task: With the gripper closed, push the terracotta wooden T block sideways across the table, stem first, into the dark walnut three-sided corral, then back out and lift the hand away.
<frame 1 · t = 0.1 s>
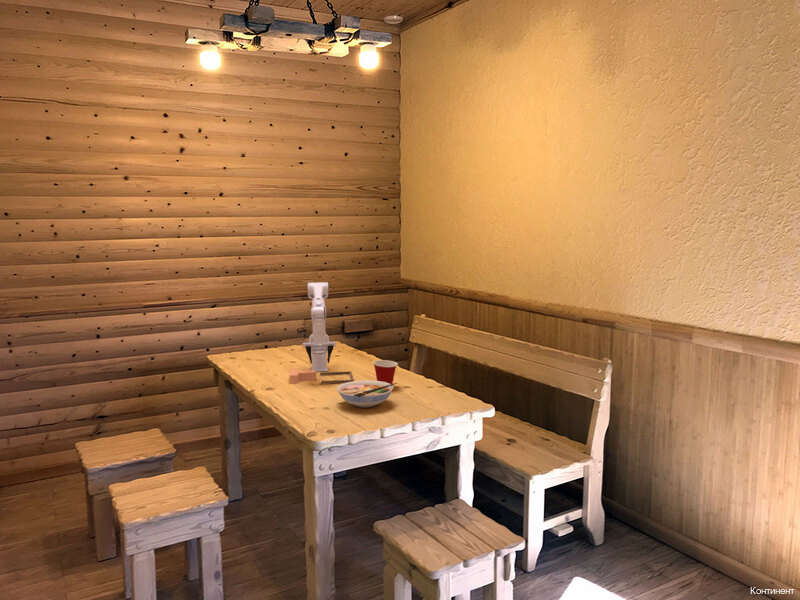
hand: (319, 362, 296), 10 cm above the table, tool pointing down, fingers open, 7 cm apart
ramen bowl: (365, 405, 265), on the table
t block: (303, 380, 304), on the table
plastic cup: (385, 389, 289), on the table
corral: (335, 378, 307), on the table
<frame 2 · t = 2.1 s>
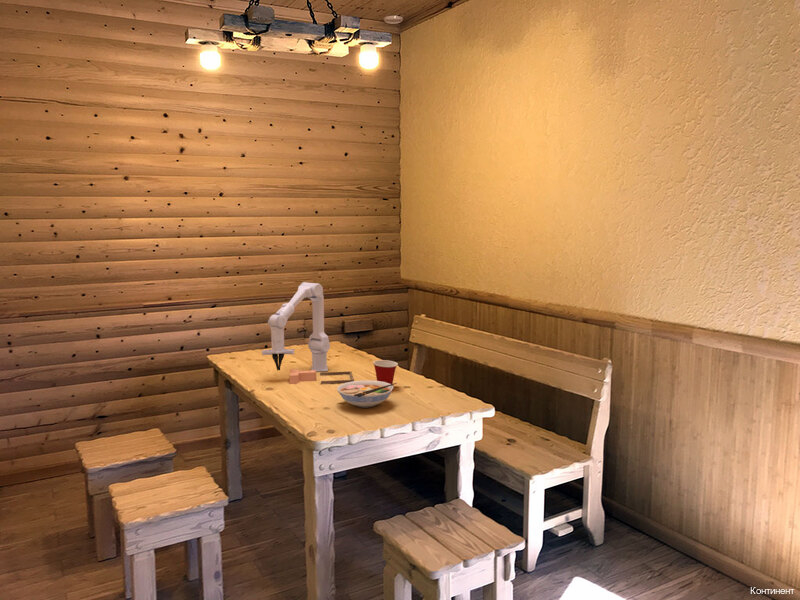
hand: (278, 369, 302), 5 cm above the table, tool pointing down, fingers closed
nothing on the table moved.
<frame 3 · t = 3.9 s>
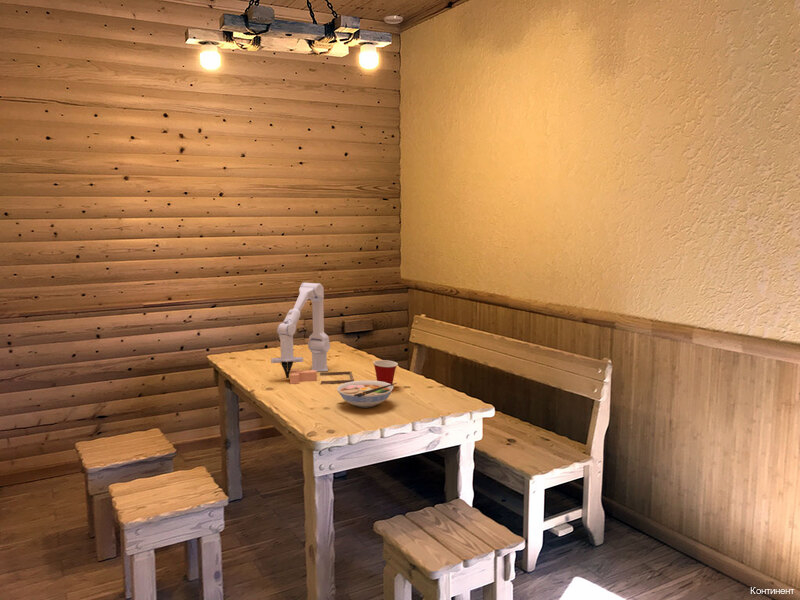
hand: (287, 377, 303), 1 cm above the table, tool pointing down, fingers closed
t block: (303, 380, 304), on the table, touching gripper
everything else where it was.
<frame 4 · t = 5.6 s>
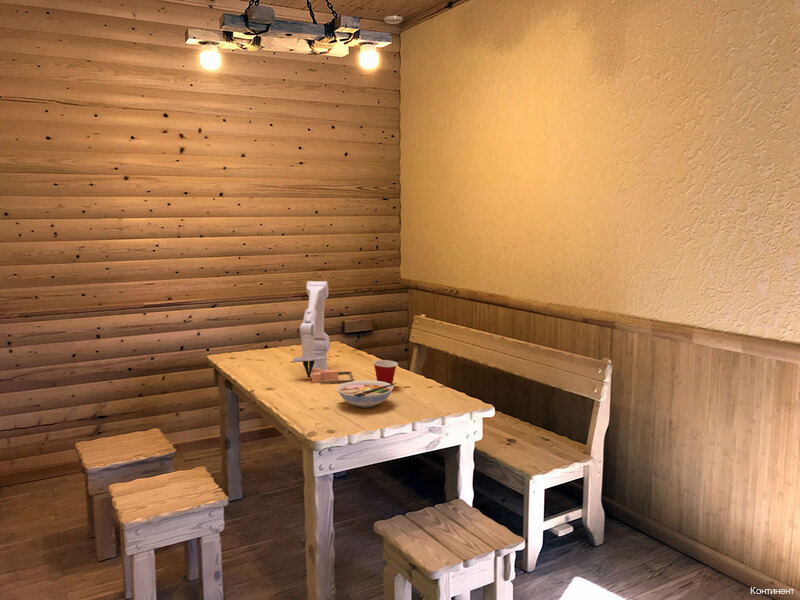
hand: (308, 376, 305), 1 cm above the table, tool pointing down, fingers closed
t block: (324, 379, 306), on the table, touching gripper
everything else where it was.
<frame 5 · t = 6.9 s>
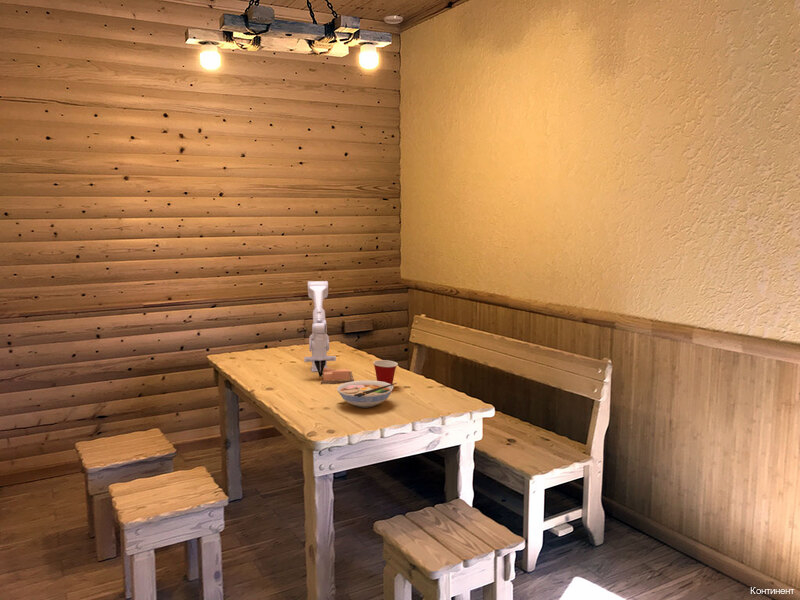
hand: (320, 376, 305), 1 cm above the table, tool pointing down, fingers closed
t block: (336, 378, 307), on the table, touching gripper
everything else where it was.
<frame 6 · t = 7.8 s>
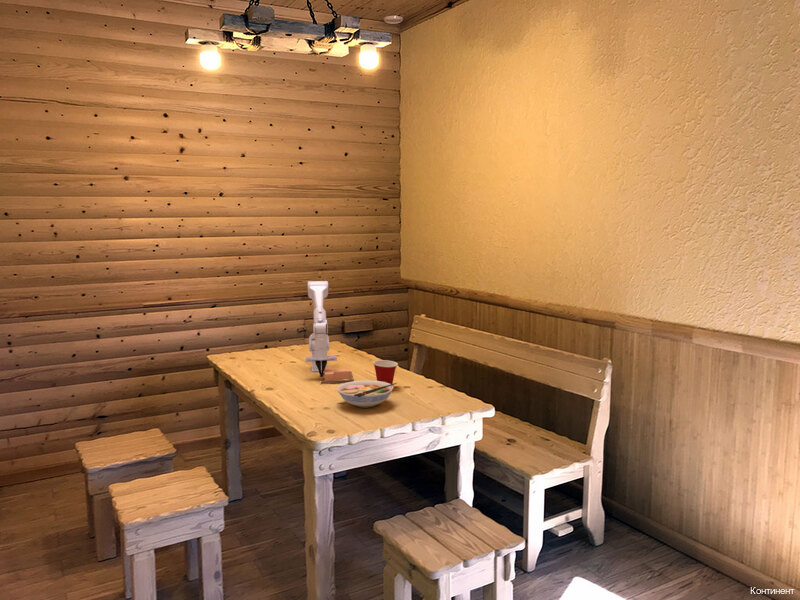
hand: (321, 376, 305), 1 cm above the table, tool pointing down, fingers closed
nothing on the table moved.
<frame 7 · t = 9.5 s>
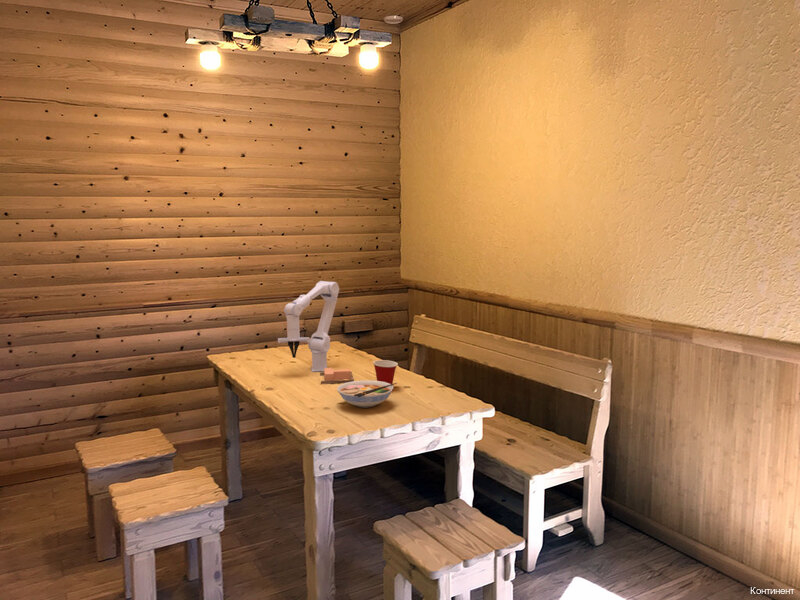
hand: (294, 357, 309), 9 cm above the table, tool pointing down, fingers closed
t block: (337, 378, 307), on the table
everything else where it was.
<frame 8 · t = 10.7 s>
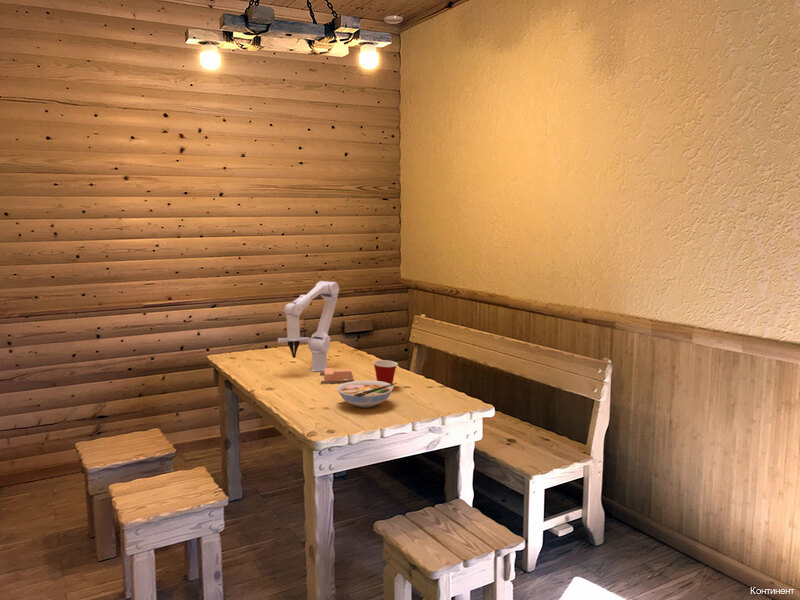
hand: (294, 357, 309), 9 cm above the table, tool pointing down, fingers closed
nothing on the table moved.
at the end: t block 0.7 cm off-centre on the corral, point 0.0 cm above the corral's base; t block tilted 0° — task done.
